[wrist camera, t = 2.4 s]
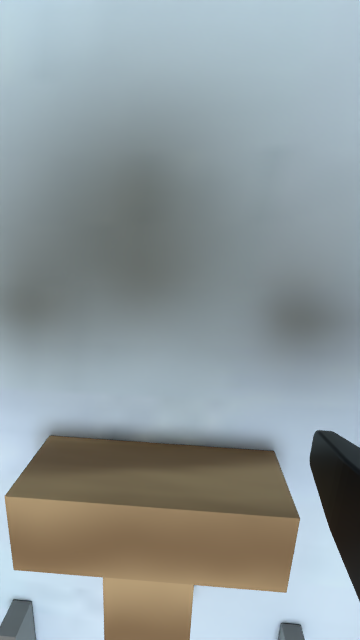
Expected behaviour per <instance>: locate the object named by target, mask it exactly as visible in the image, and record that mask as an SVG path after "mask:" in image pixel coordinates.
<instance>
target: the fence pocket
mask: <svg viewBox="0 0 360 640" xmlns="http://www.w3.org/2000/svg"><path fill="white" fill-rule="evenodd" d="M0 640H36V637H35V629H34V620H33V611H32V602H30V601H18V600H13V602H12V604H11V606H10V608H9V610H8V612H7V614H6V616H5V618H4V620H3V622H2V624H1V626H0ZM278 640H305V639H304V635H303V632H302V628H301V625H295V624H283V623H281V628H280V633H279V638H278Z"/></svg>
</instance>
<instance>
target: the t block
mask: <svg viewBox="0 0 360 640" xmlns="http://www.w3.org/2000/svg"><path fill="white" fill-rule="evenodd" d="M5 504H6V512H7V520H8V528H9V536H10V544H11V552H12V560H13V568H14V570H21V571H33V572H45V573H57V574H69V575H81V576H93V577H103V600H104V639H105V640H190V627H191V614H192V601H193V588H194V585H201V586H213V587H225V588H237V589H249V590H261V591H273V592H285V593H286V592H287V586H288V581H289V576H290V570H291V565H292V559H293V554H294V548H295V543H296V538H297V532H298V527H299V521H300V517H299V515H298V512H297V510H296V507H295V504H294V502H293V499H292V496H291V494H290V491H289V489H288V486H287V483H286V481H285V478H284V476H283V473H282V470H281V468H280V465H279V462H278V460H277V457H276V455H275V452H274V451H265V450H251V449H236V448H222V447H207V446H193V445H178V444H164V443H149V442H135V441H120V440H106V439H91V438H77V437H62V436H49V437H48V438H47V440H46V441H45V443H44V444H43V445H42V447H41V448H40V449H39V451H38V452H37V453H36V455H35V456H34V457H33V459H32V460H31V461H30V463H29V464H28V465H27V467H26V468H25V469H24V471H23V472H22V474H21V475H20V476H19V478H18V479H17V480H16V482H15V483H14V484H13V486H12V487H11V488H10V490H9V491H8V492H7V494H6V495H5Z"/></svg>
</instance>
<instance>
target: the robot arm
mask: <svg viewBox="0 0 360 640" xmlns="http://www.w3.org/2000/svg"><path fill="white" fill-rule="evenodd" d="M310 466H311V470H312V473H313V477H314V480H315V483H316V486H317V490H318V493H319V496H320V500H321V503H322V506H323V509H324V513H325V516H326V519H327V522H328V525H329V528H330V531H331V533H332V536H333V538H334V541H335V543H336V545H337V548H338V550H339V553H340V555H341V558H342V560H343V562H344V565H345V567H346V570H347V572H348V574H349V577H350V579H351V582H352V584H353V586H354V589H355V591H356V594H357V596H358V598H359V601H360V448H359V447H358V446H356V445H354V444H353V443H351V442H349V441H348V440H346V439H344V438H343V437H341V436H339V435H338V434H336V433H335V432H332V431H322V430H317V431H316V432H315V434H314V437H313V442H312V448H311V453H310Z"/></svg>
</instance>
